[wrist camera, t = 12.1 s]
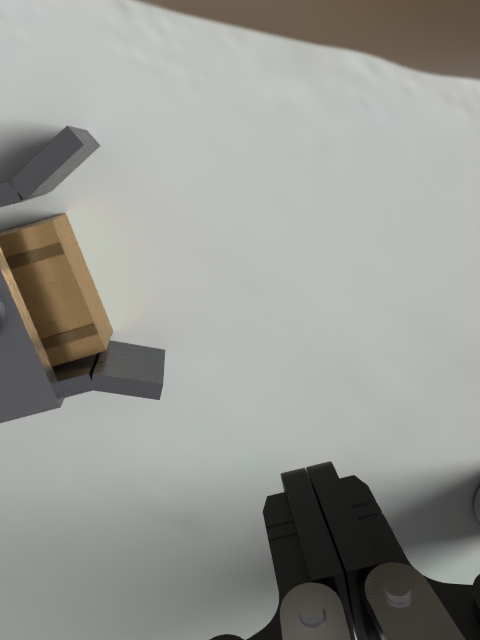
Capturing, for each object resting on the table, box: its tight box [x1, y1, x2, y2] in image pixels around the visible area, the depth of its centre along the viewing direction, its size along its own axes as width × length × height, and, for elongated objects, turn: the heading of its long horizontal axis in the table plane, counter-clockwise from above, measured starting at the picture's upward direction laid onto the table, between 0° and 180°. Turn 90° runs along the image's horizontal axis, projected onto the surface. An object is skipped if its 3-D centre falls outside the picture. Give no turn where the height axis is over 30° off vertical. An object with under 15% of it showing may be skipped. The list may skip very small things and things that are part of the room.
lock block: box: [0, 213, 113, 366], centre depth 31 cm, size 8×9×4 cm
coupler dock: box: [0, 126, 165, 423], centre depth 28 cm, size 16×17×9 cm
